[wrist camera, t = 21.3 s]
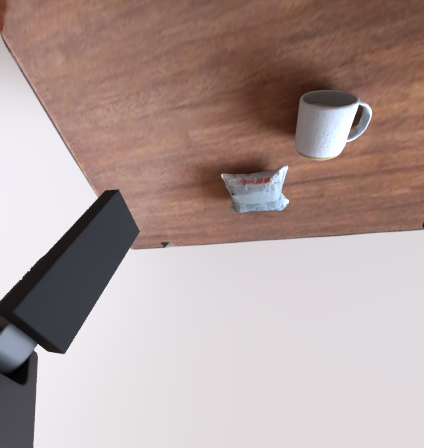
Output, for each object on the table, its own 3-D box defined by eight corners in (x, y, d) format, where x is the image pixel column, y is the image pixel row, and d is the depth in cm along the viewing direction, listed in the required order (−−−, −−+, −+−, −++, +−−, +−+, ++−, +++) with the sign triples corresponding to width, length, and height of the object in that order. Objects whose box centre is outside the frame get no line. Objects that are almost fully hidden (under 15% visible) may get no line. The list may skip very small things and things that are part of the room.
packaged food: (223, 167, 49) (219, 181, 46) (287, 160, 46) (288, 174, 42) (231, 203, 55) (228, 218, 51) (289, 199, 51) (290, 215, 47)
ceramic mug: (292, 143, 43) (294, 164, 38) (298, 90, 38) (302, 105, 33) (359, 142, 41) (373, 164, 36) (376, 86, 36) (395, 102, 30)
